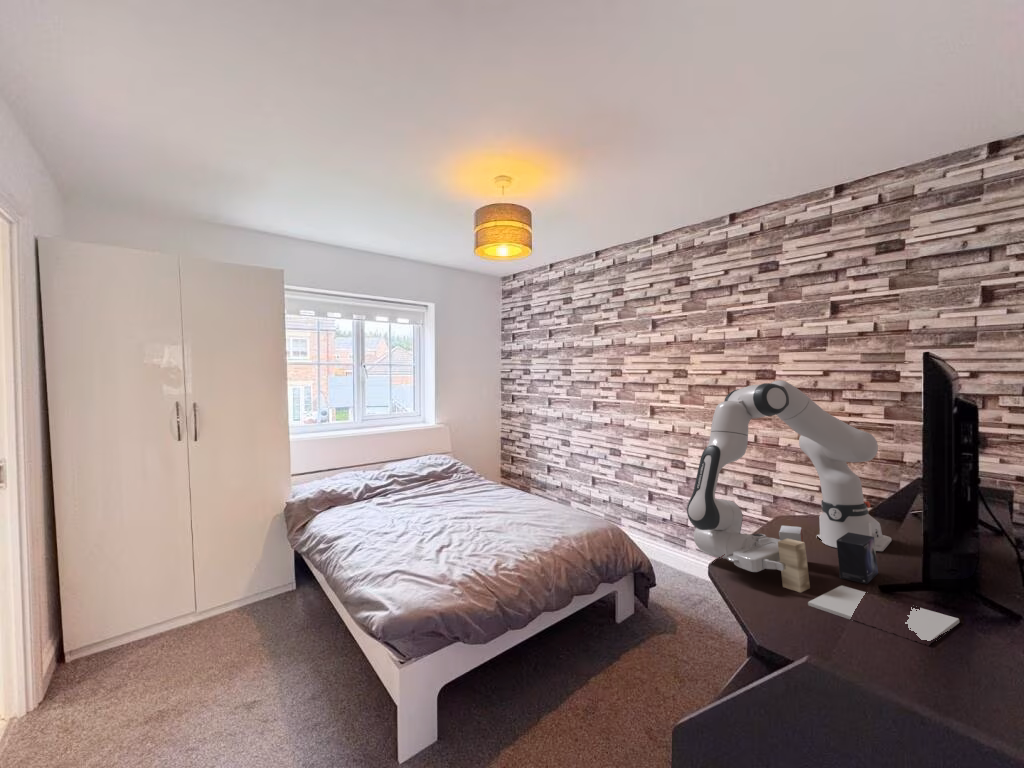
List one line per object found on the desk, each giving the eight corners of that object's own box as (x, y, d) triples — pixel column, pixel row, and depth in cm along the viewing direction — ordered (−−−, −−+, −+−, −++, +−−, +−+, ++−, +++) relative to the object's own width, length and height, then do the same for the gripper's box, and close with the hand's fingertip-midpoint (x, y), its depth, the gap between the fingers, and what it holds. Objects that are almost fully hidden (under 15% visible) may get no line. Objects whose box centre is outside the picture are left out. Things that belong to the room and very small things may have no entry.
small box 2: (869, 585, 111) (864, 544, 111) (839, 578, 116) (834, 540, 117) (880, 574, 117) (875, 535, 118) (851, 568, 122) (846, 531, 123)
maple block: (792, 582, 115) (787, 538, 116) (810, 588, 111) (804, 542, 112) (782, 586, 113) (777, 541, 114) (800, 592, 109) (795, 545, 110)
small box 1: (805, 570, 123) (800, 533, 124) (782, 567, 126) (778, 531, 127) (806, 561, 129) (802, 526, 130) (784, 558, 133) (781, 524, 133)
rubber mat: (841, 588, 110) (841, 585, 110) (959, 622, 91) (958, 618, 91) (808, 605, 102) (807, 602, 103) (928, 646, 83) (928, 642, 83)
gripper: (721, 546, 120) (770, 559, 108) (764, 532, 130) (813, 543, 118) (724, 569, 120) (772, 584, 108) (766, 553, 129) (816, 566, 117)
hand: (794, 562), depth 113 cm, fingers open, 8 cm apart
